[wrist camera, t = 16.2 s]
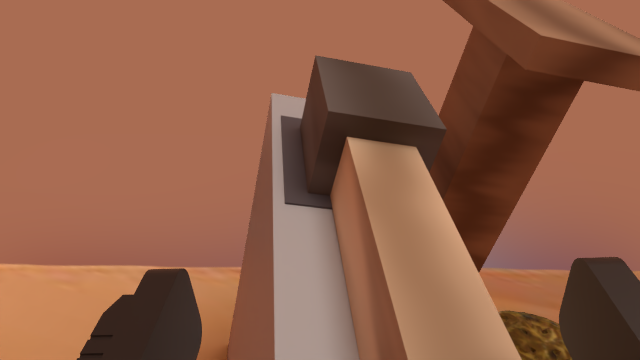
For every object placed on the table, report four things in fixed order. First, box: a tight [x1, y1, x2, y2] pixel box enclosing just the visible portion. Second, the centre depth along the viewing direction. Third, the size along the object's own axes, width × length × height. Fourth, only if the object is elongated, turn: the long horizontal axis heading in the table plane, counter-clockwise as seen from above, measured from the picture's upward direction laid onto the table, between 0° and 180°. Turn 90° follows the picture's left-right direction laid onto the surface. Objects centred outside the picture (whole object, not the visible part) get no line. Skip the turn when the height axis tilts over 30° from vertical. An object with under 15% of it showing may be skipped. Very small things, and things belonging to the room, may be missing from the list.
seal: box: [498, 311, 572, 360], centre depth 48 cm, size 9×5×15 cm
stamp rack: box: [429, 0, 640, 273], centre depth 35 cm, size 8×14×32 cm, turn 6°
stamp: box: [300, 56, 522, 360], centre depth 15 cm, size 5×24×4 cm, turn 6°
